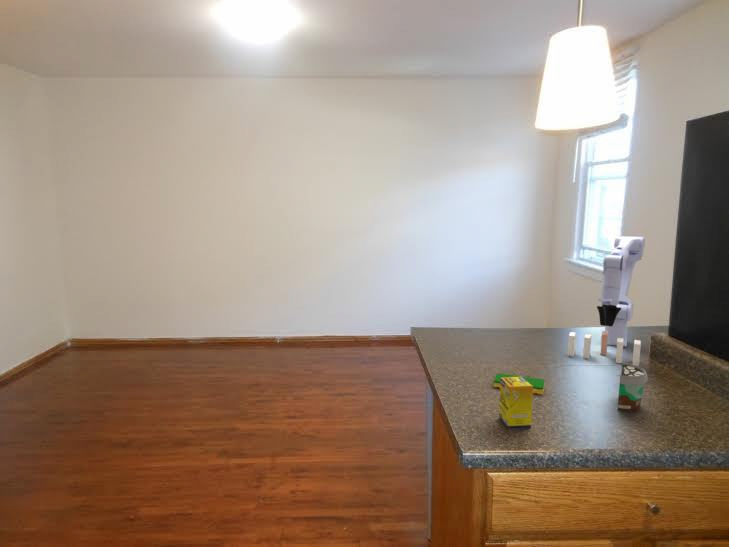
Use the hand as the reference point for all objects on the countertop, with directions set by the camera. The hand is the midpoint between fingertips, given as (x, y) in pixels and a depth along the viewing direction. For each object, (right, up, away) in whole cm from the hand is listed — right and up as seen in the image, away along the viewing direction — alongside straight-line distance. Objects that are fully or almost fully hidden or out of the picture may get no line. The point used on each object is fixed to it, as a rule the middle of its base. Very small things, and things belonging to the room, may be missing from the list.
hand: (606, 325), depth 160 cm
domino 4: (+1, -11, -5) cm, 13 cm away
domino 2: (-7, -11, 0) cm, 13 cm away
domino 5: (+6, -12, -8) cm, 15 cm away
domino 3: (+1, -10, +3) cm, 11 cm away
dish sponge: (-40, -16, -26) cm, 50 cm away
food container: (-15, -17, -40) cm, 46 cm away
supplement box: (-49, -19, -48) cm, 71 cm away
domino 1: (-11, -10, +2) cm, 16 cm away
